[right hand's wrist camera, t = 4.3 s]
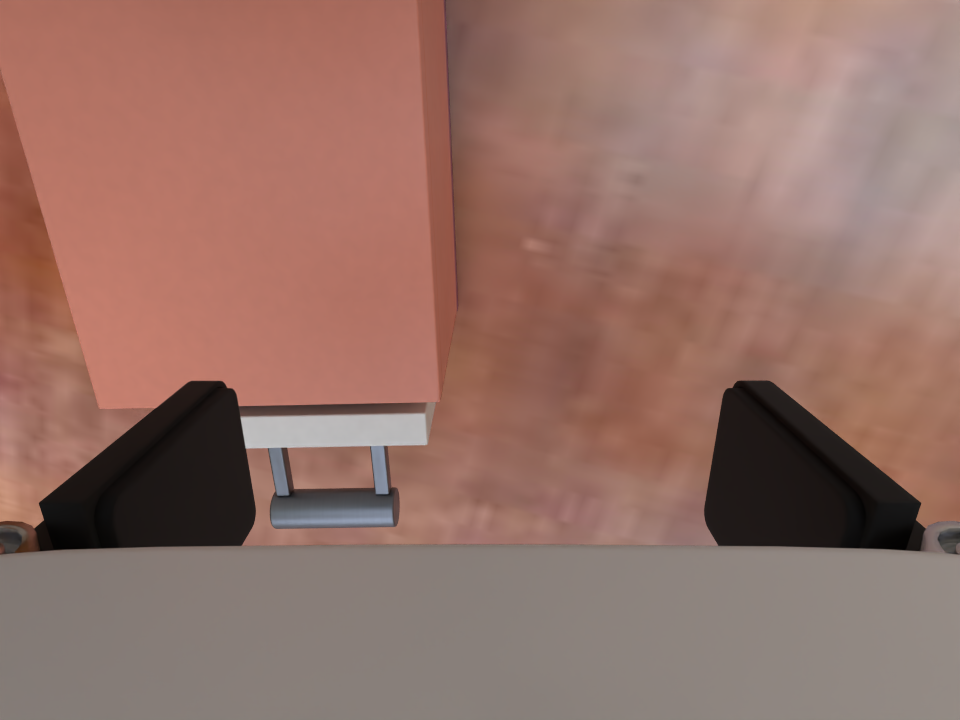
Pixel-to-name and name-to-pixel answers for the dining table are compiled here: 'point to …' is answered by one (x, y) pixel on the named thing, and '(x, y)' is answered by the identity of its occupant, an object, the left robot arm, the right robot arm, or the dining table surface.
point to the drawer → (335, 429)
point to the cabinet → (244, 192)
